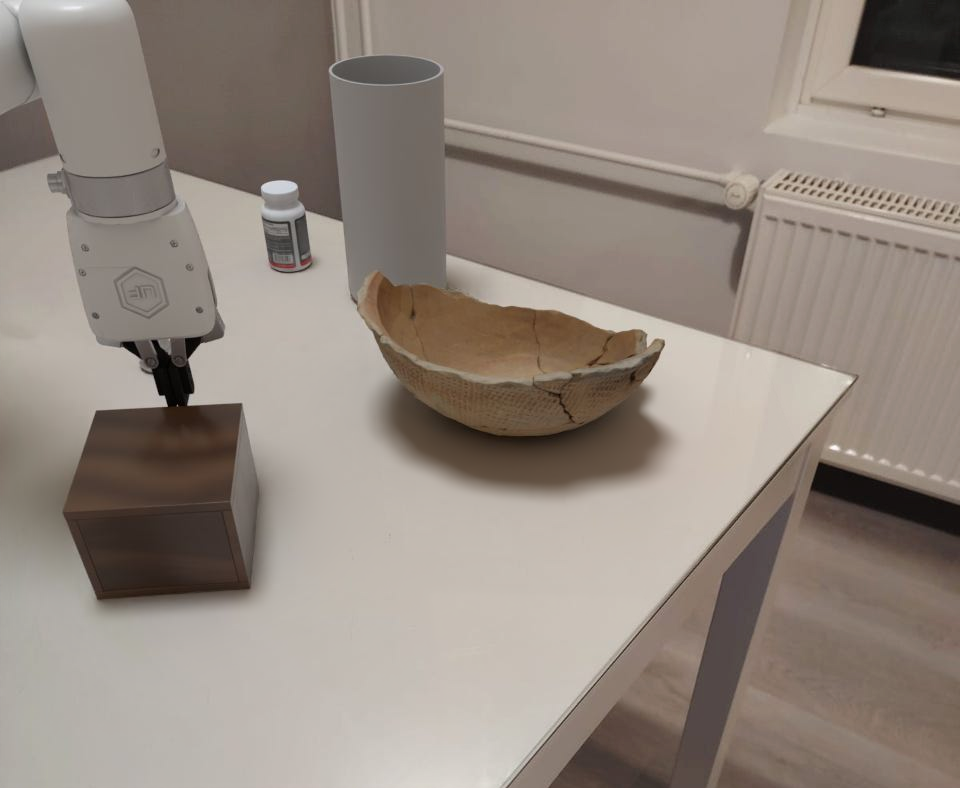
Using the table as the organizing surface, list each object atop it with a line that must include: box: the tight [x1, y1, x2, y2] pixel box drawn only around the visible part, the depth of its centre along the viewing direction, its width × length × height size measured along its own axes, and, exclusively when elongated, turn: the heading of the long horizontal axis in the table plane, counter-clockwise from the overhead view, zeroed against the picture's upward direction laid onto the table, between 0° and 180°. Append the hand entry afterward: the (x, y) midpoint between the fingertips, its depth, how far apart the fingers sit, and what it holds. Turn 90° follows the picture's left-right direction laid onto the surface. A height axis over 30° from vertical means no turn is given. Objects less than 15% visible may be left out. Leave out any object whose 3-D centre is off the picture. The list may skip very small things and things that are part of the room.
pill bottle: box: [260, 179, 312, 273], centre depth 118 cm, size 6×6×10 cm
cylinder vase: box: [328, 54, 448, 303], centre depth 107 cm, size 12×12×25 cm
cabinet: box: [61, 402, 260, 600], centre depth 77 cm, size 15×13×9 cm
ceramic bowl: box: [356, 270, 666, 437], centre depth 92 cm, size 30×27×15 cm
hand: (179, 400), depth 82 cm, fingers closed
